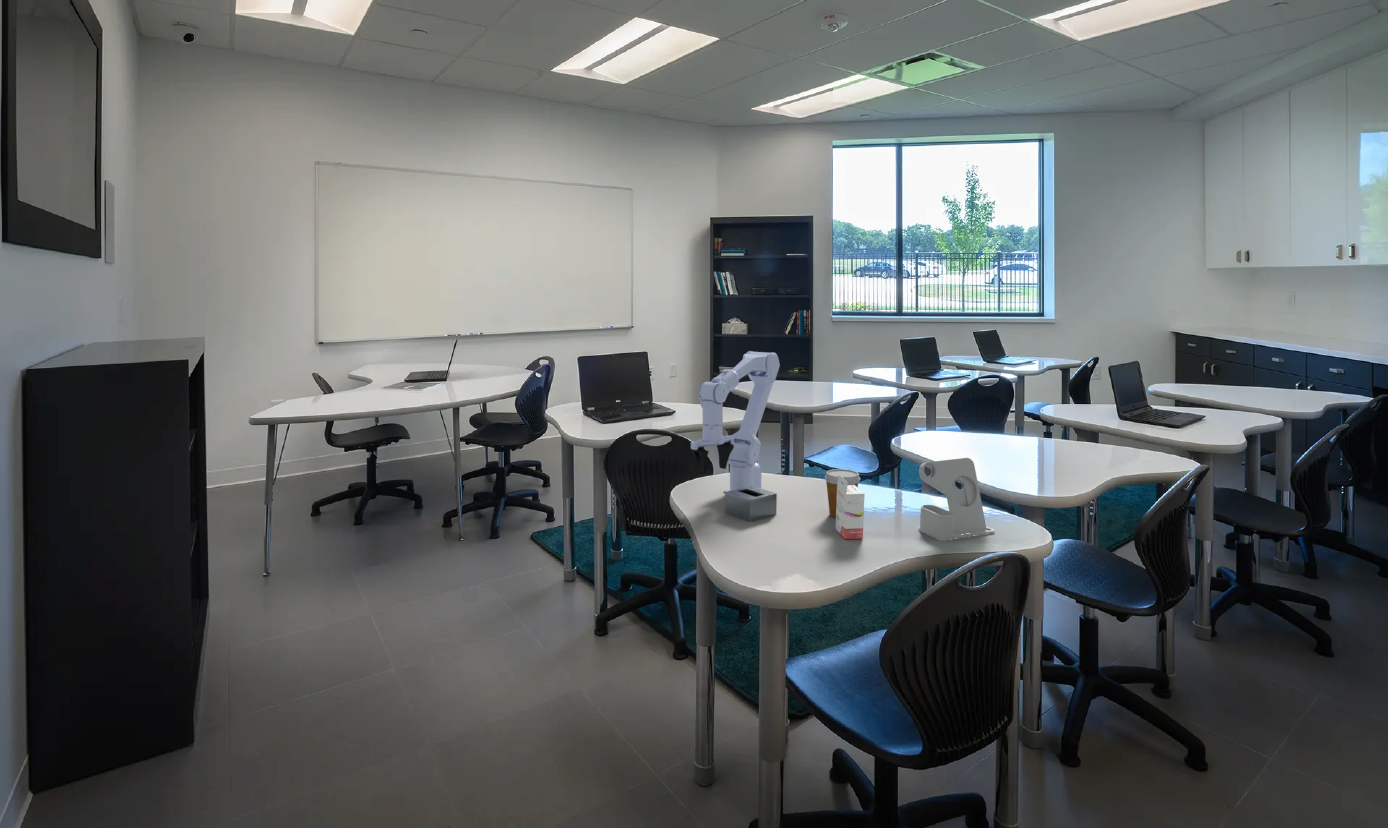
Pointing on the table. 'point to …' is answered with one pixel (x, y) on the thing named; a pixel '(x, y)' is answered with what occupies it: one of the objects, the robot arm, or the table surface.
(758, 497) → the box
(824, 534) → the table surface
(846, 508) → the ink cartridge box
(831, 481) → the disposable coffee cup
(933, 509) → the grey mounting bracket
